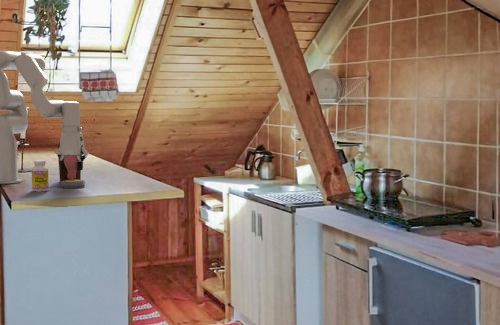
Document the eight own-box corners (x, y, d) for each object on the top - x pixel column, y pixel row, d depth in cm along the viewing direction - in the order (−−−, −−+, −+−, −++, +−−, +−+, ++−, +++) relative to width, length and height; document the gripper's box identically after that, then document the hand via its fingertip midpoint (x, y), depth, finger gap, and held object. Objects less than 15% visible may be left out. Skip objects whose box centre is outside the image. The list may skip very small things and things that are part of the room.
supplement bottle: (32, 192, 270) (31, 161, 268) (31, 190, 276) (30, 160, 274) (49, 191, 272) (48, 161, 271) (47, 189, 278) (46, 159, 277)
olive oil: (70, 183, 295) (69, 128, 292) (53, 181, 300) (52, 128, 297) (86, 180, 305) (85, 127, 302) (69, 179, 309) (68, 127, 307)
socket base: (56, 187, 282) (56, 181, 282) (69, 184, 292) (69, 178, 291) (77, 188, 279) (76, 182, 279) (88, 185, 289) (88, 179, 289)
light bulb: (83, 179, 286) (83, 152, 284) (70, 181, 280) (69, 153, 279) (74, 177, 290) (73, 151, 289) (60, 179, 285) (60, 152, 283)
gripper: (93, 129, 284) (94, 169, 286) (58, 128, 289) (59, 168, 291) (84, 130, 277) (85, 171, 279) (49, 129, 282) (50, 170, 284)
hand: (72, 169), depth 285 cm, fingers closed on light bulb, 7 cm apart
